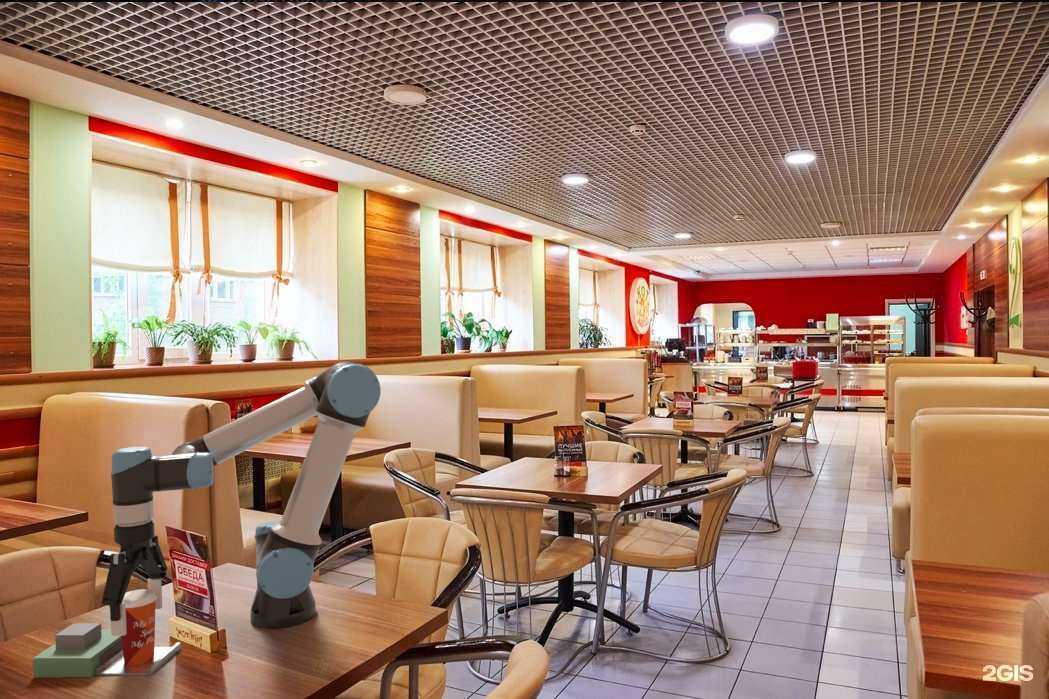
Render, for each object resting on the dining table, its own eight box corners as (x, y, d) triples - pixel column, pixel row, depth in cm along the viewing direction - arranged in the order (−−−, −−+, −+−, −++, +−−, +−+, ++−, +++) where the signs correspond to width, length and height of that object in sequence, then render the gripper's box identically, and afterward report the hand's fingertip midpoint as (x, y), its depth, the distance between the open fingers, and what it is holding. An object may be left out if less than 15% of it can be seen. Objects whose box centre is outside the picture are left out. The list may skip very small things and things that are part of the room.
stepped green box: (132, 646, 163) (130, 615, 163) (92, 677, 149) (91, 643, 149) (78, 646, 164) (77, 615, 163) (33, 677, 150) (32, 643, 149)
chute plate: (180, 648, 162) (180, 642, 162) (150, 675, 150) (150, 668, 150) (129, 648, 162) (129, 642, 162) (95, 675, 150) (95, 668, 150)
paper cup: (142, 669, 151) (139, 602, 151) (109, 666, 153) (107, 600, 152) (167, 652, 159) (165, 588, 158) (136, 650, 161) (134, 586, 160)
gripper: (149, 506, 167) (152, 598, 168) (78, 539, 142) (82, 647, 143) (181, 506, 167) (185, 598, 168) (116, 539, 142) (120, 647, 143)
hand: (138, 621), depth 156 cm, fingers open, 13 cm apart
